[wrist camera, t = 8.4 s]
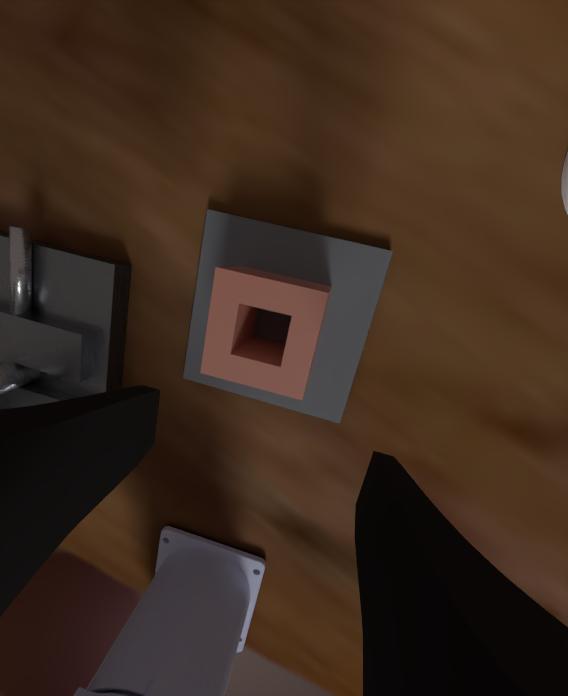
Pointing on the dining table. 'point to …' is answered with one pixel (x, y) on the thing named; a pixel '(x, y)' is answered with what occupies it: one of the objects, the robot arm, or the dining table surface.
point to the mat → (337, 329)
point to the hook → (565, 183)
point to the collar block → (254, 352)
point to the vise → (58, 321)
